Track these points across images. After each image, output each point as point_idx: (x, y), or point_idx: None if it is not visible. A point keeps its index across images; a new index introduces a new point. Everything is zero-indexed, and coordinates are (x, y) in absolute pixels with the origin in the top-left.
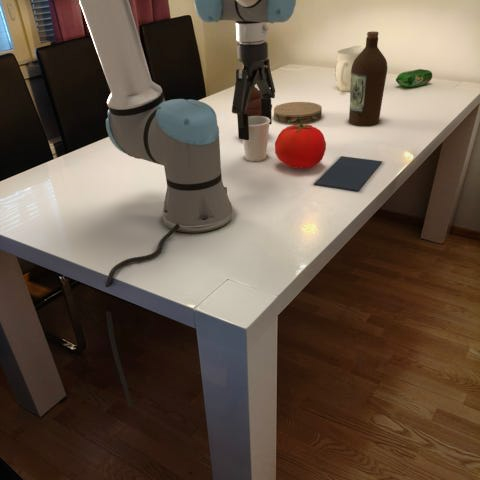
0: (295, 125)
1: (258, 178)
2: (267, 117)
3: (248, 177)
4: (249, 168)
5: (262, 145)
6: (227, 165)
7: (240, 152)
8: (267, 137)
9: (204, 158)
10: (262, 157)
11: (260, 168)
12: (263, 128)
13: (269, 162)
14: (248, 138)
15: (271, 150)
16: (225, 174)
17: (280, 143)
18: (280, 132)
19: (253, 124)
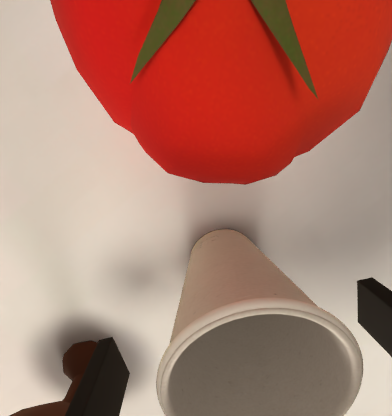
0: (213, 33)
1: (377, 132)
2: (105, 387)
3: (381, 167)
4: (311, 216)
5: (248, 248)
6: (318, 282)
7: None
8: (216, 262)
9: None
10: (231, 232)
11: (295, 186)
12: (280, 289)
13: (234, 197)
14: (370, 283)
15: (140, 261)
16: (384, 242)
17: (378, 70)
18: (265, 165)
19: (200, 382)
